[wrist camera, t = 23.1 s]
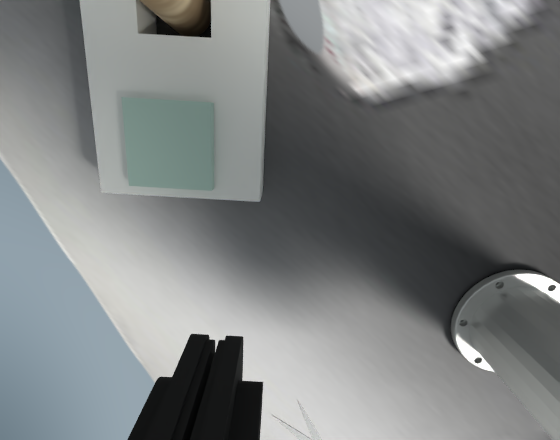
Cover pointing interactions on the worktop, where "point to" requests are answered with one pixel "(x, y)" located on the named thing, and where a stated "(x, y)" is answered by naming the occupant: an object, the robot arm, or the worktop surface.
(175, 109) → the latch flap
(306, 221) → the worktop surface
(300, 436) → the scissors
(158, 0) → the dowel
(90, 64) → the block
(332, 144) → the worktop surface
